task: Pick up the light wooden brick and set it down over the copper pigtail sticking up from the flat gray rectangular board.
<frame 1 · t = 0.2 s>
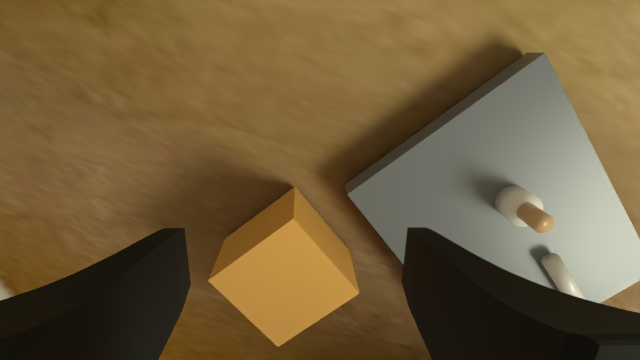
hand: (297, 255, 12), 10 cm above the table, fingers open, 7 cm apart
light wooden brick: (288, 244, 22), on the table
flat gray rectangular board: (498, 223, 23), on the table
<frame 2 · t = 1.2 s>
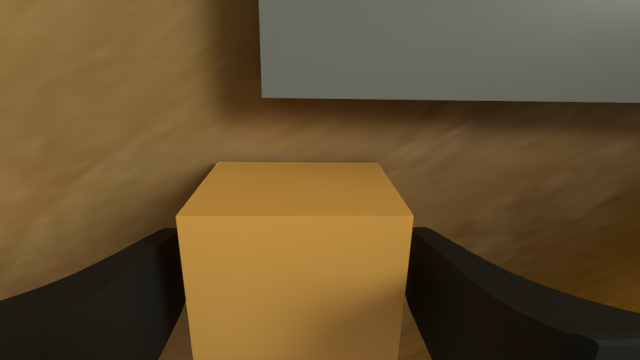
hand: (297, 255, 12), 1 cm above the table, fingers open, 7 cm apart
light wooden brick: (298, 233, 13), on the table
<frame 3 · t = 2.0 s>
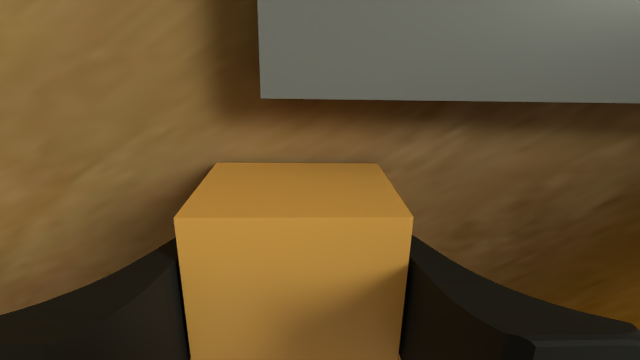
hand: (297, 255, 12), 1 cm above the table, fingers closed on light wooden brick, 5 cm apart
light wooden brick: (298, 235, 13), on the table, touching gripper
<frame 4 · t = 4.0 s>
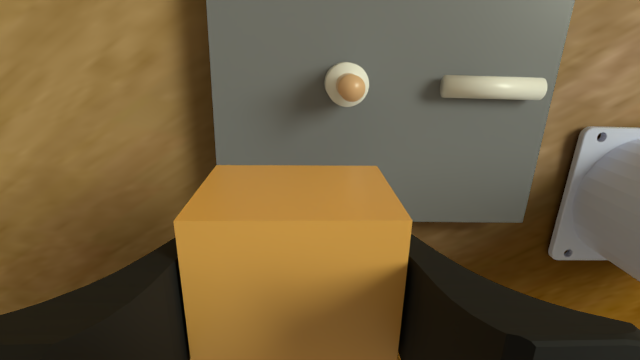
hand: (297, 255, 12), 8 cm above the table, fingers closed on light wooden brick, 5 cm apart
light wooden brick: (297, 236, 13), point 7 cm above the table, touching gripper
flat gray rectangular board: (378, 101, 19), on the table
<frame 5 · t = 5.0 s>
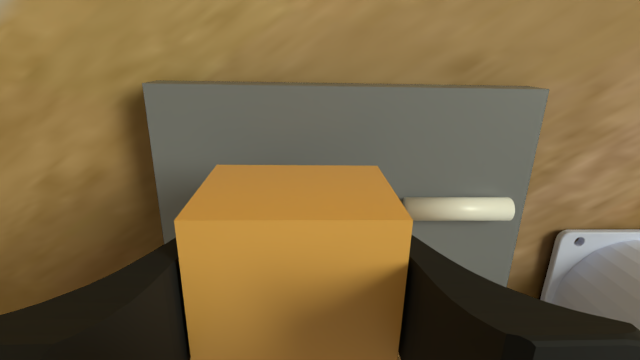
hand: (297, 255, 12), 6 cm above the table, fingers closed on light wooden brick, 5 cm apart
light wooden brick: (297, 236, 13), point 4 cm above the table, touching gripper
flat gray rectangular board: (341, 211, 18), on the table
when the fingers open (4 cm above the table, at t = 6.0 s): light wooden brick stays where it is, resting on flat gray rectangular board.
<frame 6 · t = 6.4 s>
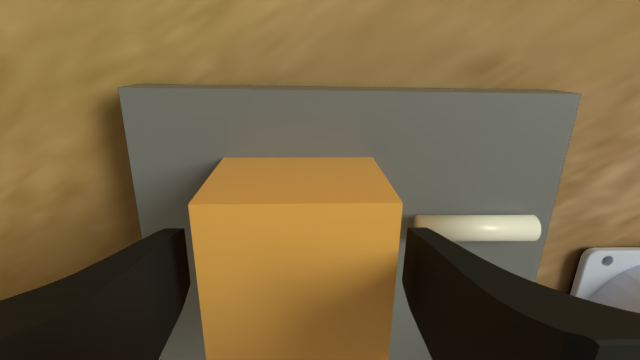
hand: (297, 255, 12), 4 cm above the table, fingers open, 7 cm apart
light wooden brick: (299, 224, 14), point 1 cm above the table, touching flat gray rectangular board
flat gray rectangular board: (344, 228, 16), on the table
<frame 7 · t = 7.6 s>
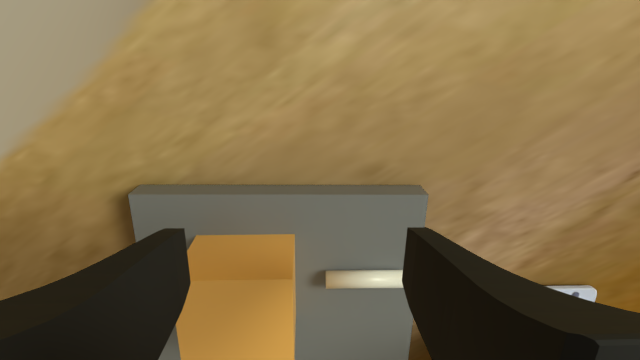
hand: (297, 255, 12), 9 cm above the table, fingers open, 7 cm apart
light wooden brick: (248, 276, 21), point 1 cm above the table, touching flat gray rectangular board
flat gray rectangular board: (284, 274, 23), on the table
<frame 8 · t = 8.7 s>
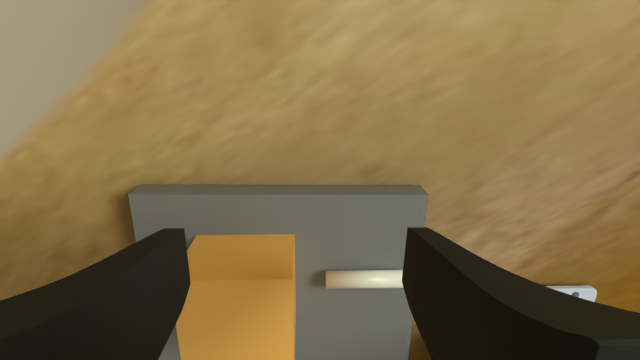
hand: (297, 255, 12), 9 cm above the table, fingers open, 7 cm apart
light wooden brick: (248, 276, 21), point 1 cm above the table, touching flat gray rectangular board
flat gray rectangular board: (284, 274, 23), on the table
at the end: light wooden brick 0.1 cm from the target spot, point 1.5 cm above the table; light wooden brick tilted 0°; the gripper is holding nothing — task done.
